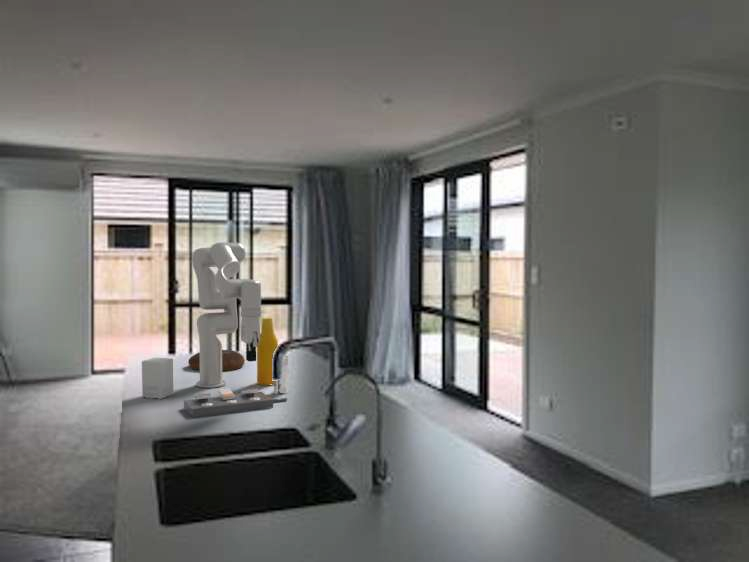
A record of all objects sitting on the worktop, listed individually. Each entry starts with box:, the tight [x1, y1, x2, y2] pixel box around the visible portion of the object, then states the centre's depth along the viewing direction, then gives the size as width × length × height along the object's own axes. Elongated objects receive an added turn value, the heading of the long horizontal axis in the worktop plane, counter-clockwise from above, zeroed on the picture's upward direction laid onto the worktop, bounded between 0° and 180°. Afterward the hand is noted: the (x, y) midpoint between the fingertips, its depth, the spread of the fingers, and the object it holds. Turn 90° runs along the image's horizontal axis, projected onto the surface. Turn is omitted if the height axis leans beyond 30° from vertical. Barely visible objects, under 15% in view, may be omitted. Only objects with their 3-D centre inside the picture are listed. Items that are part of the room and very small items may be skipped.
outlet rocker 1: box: [218, 387, 236, 400], centre depth 238 cm, size 7×4×1 cm, turn 29°
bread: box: [187, 349, 246, 372], centre depth 315 cm, size 28×27×9 cm
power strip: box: [183, 391, 288, 418], centre depth 238 cm, size 14×38×4 cm, turn 119°
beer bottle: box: [256, 317, 279, 386], centre depth 277 cm, size 9×9×29 cm
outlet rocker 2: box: [240, 387, 259, 394], centre depth 243 cm, size 7×4×1 cm, turn 29°
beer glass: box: [272, 355, 290, 394], centre depth 261 cm, size 7×7×15 cm
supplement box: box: [141, 357, 174, 400], centre depth 253 cm, size 9×9×15 cm
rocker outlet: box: [194, 393, 212, 399], centre depth 234 cm, size 7×4×1 cm, turn 29°
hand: (251, 360), depth 240 cm, fingers closed
